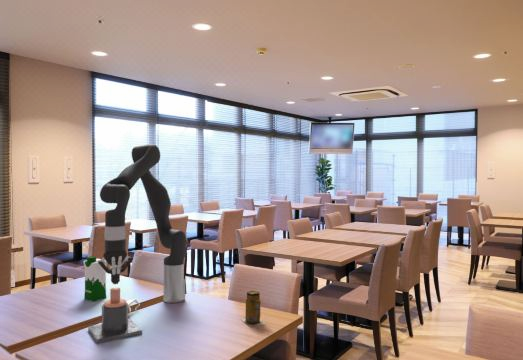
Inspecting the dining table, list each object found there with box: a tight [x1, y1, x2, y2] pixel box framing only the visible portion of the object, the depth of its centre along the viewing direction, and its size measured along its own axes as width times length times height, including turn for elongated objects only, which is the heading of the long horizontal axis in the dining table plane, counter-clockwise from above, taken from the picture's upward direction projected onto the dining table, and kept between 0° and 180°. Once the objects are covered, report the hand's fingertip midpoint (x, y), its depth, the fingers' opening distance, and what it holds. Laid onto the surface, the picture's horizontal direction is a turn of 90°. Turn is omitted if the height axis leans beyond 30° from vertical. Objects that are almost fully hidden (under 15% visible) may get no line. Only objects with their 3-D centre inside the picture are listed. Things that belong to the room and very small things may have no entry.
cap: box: [103, 287, 127, 308], centre depth 159 cm, size 8×8×8 cm
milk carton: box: [82, 255, 108, 302], centre depth 200 cm, size 9×9×20 cm
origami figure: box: [126, 299, 141, 317], centre depth 180 cm, size 12×8×5 cm
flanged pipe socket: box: [87, 302, 143, 344], centre depth 159 cm, size 16×14×10 cm
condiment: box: [240, 290, 267, 327], centre depth 172 cm, size 7×8×12 cm
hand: (115, 283), depth 159 cm, fingers closed
